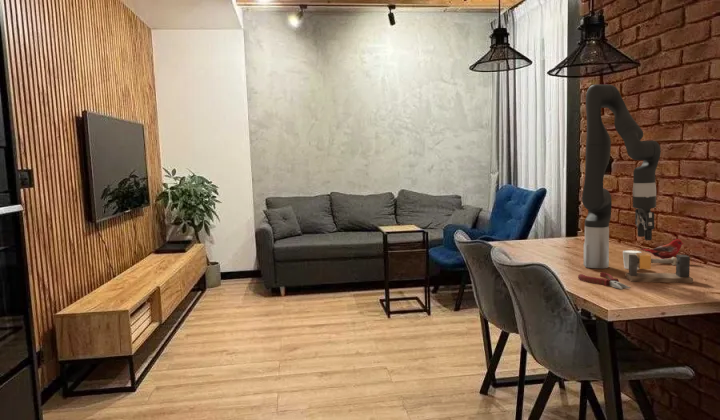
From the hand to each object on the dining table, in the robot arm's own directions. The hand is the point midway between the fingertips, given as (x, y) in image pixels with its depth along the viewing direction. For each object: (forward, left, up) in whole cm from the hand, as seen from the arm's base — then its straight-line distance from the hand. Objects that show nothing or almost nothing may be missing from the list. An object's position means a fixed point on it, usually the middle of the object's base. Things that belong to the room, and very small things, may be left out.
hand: (644, 238), depth 181 cm
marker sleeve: (0, 0, -11) cm, 11 cm away
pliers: (-16, -8, -16) cm, 24 cm away
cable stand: (+5, 0, -16) cm, 16 cm away
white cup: (+1, +19, -16) cm, 25 cm away
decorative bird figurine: (+15, +31, -16) cm, 38 cm away
